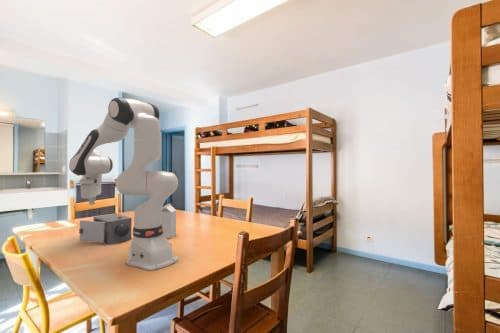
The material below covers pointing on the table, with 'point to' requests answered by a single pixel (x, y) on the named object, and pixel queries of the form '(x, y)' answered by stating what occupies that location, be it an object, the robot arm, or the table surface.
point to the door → (92, 231)
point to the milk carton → (168, 221)
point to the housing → (116, 227)
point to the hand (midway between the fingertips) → (92, 204)
